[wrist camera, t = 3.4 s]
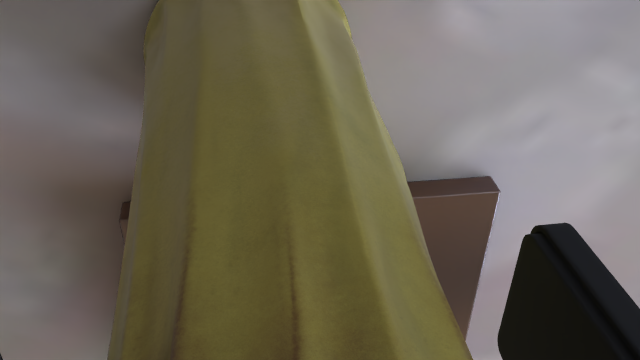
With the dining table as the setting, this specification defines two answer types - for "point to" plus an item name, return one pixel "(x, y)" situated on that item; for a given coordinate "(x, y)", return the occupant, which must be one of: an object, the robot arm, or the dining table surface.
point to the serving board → (446, 234)
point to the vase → (270, 199)
